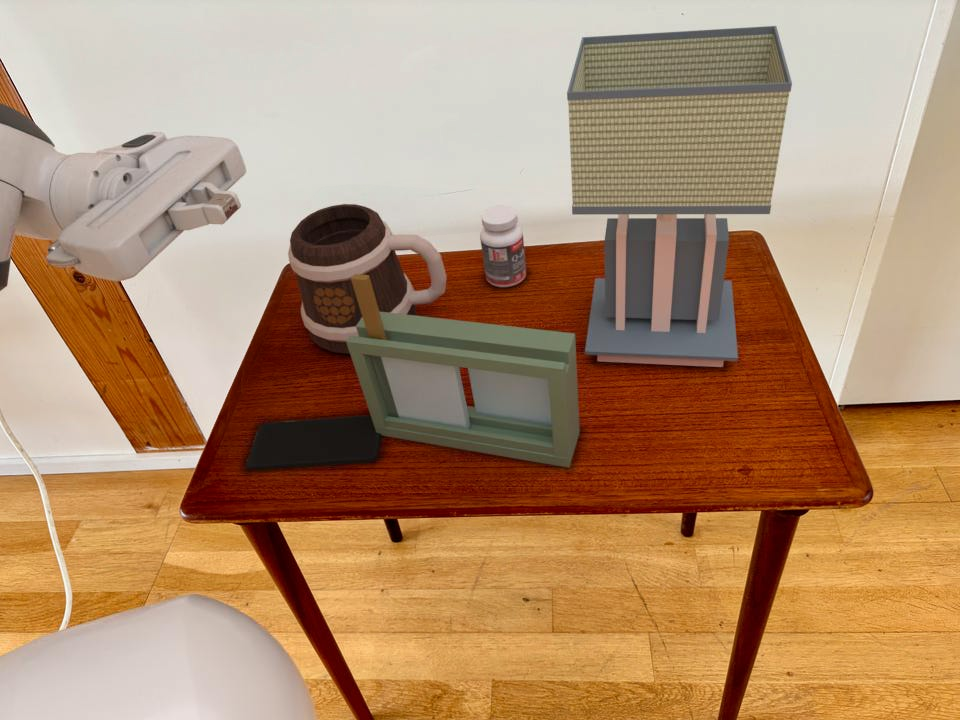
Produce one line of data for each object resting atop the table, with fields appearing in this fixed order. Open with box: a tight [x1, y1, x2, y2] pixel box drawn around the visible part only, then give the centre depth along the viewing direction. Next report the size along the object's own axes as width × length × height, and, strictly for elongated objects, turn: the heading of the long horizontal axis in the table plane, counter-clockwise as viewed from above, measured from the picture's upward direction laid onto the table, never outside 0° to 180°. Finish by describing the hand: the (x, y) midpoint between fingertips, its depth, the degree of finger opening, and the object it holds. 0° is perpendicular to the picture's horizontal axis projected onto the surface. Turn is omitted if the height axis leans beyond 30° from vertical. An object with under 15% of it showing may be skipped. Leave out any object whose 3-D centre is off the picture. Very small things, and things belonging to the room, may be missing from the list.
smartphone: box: [245, 414, 383, 472], centre depth 80 cm, size 7×1×15 cm
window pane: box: [351, 274, 471, 429], centre depth 71 cm, size 1×9×19 cm, turn 72°
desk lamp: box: [566, 25, 793, 368], centre depth 76 cm, size 18×14×33 cm
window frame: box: [346, 312, 581, 469], centre depth 73 cm, size 5×22×14 cm, turn 72°
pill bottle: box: [479, 204, 527, 288], centre depth 95 cm, size 6×6×10 cm
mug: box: [287, 203, 448, 355], centre depth 90 cm, size 20×15×15 cm
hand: (230, 208), depth 65 cm, fingers closed
